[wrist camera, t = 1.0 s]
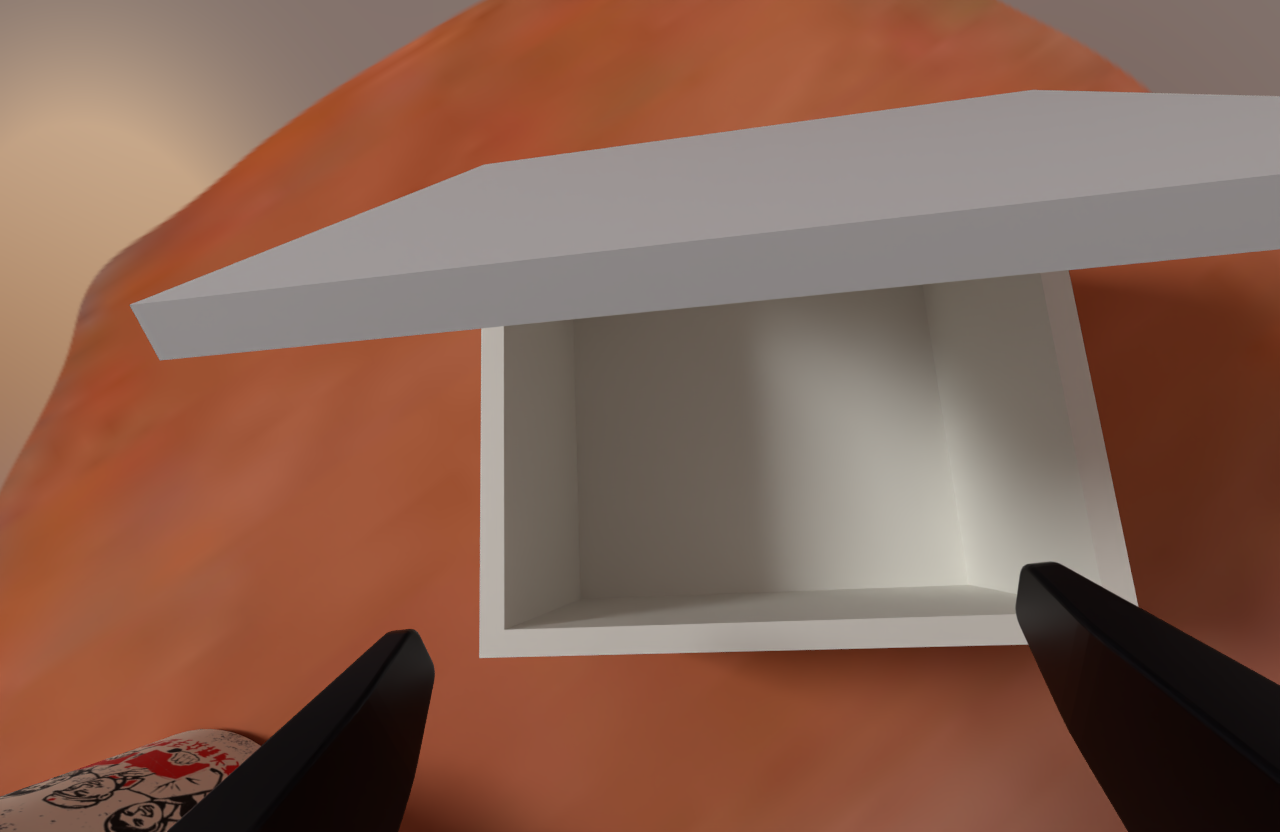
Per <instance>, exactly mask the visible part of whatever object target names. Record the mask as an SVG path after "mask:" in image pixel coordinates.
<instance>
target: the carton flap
mask: <svg viewBox="0 0 1280 832" xmlns="http://www.w3.org/2000/svg"><path fill="white" fill-rule="evenodd" d="M1276 249H1280V96H1247V95H1245V96H1244V95H1208V94H1169V93H1168V94H1167V93H1130V92H1091V91H1052V90H1029V91H1021V92H1014V93H1007V94H999V95H992V96H985V97H977V98H970V99H963V100H955V101H948V102H941V103H933V104H926V105H919V106H911V107H904V108H897V109H889V110H882V111H875V112H867V113H860V114H853V115H845V116H838V117H831V118H823V119H816V120H809V121H801V122H794V123H787V124H779V125H772V126H765V127H757V128H750V129H743V130H735V131H728V132H721V133H713V134H706V135H699V136H691V137H684V138H677V139H669V140H662V141H655V142H647V143H640V144H633V145H625V146H618V147H611V148H603V149H596V150H589V151H581V152H574V153H567V154H559V155H552V156H545V157H537V158H530V159H523V160H515V161H508V162H501V163H493V164H486V165H482V166H480V167H477V168H475V169H472V170H470V171H467V172H465V173H462V174H459V175H457V176H454V177H452V178H449V179H447V180H444V181H442V182H439V183H437V184H434V185H432V186H429V187H427V188H424V189H422V190H419V191H417V192H414V193H411V194H409V195H406V196H404V197H401V198H399V199H396V200H394V201H391V202H389V203H386V204H384V205H381V206H379V207H376V208H374V209H371V210H368V211H366V212H363V213H361V214H358V215H356V216H353V217H351V218H348V219H346V220H343V221H341V222H338V223H336V224H333V225H331V226H328V227H325V228H323V229H320V230H318V231H315V232H313V233H310V234H308V235H305V236H303V237H300V238H298V239H295V240H293V241H290V242H288V243H285V244H283V245H280V246H277V247H275V248H272V249H270V250H267V251H265V252H262V253H260V254H257V255H255V256H252V257H250V258H247V259H245V260H242V261H240V262H237V263H234V264H232V265H229V266H227V267H224V268H222V269H219V270H217V271H214V272H212V273H209V274H207V275H204V276H202V277H199V278H197V279H194V280H192V281H189V282H186V283H184V284H181V285H179V286H176V287H174V288H171V289H169V290H166V291H164V292H161V293H159V294H156V295H154V296H151V297H149V298H146V299H143V300H141V301H138V302H136V303H133V304H131V305H130V307H131V308H132V310H133V312H134V314H135V316H136V318H137V319H138V321H139V323H140V325H141V327H142V329H143V330H144V332H145V334H146V336H147V338H148V340H149V341H150V343H151V345H152V347H153V349H154V351H155V352H156V354H157V356H158V358H159V360H168V359H178V358H188V357H198V356H208V355H219V354H229V353H239V352H249V351H259V350H269V349H279V348H289V347H299V346H309V345H319V344H329V343H339V342H349V341H360V340H370V339H380V338H390V337H400V336H410V335H420V334H430V333H440V332H450V331H460V330H470V329H480V328H490V327H500V326H511V325H521V324H531V323H541V322H551V321H561V320H571V319H581V318H591V317H601V316H611V315H621V314H631V313H641V312H652V311H662V310H672V309H682V308H692V307H702V306H712V305H722V304H732V303H742V302H752V301H762V300H772V299H782V298H792V297H803V296H813V295H823V294H833V293H843V292H853V291H863V290H873V289H883V288H893V287H903V286H913V285H923V284H933V283H943V282H954V281H964V280H974V279H984V278H994V277H1004V276H1014V275H1024V274H1034V273H1044V272H1054V271H1064V270H1074V269H1084V268H1095V267H1105V266H1115V265H1125V264H1135V263H1145V262H1155V261H1165V260H1175V259H1185V258H1195V257H1205V256H1215V255H1225V254H1235V253H1246V252H1256V251H1266V250H1276Z"/></svg>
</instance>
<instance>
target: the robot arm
mask: <svg viewBox="0 0 1280 832" xmlns="http://www.w3.org/2000/svg"><path fill="white" fill-rule="evenodd" d="M1015 610H1016V616H1017V620H1018V623H1019V625H1020V628H1021V630H1022V632H1023V634H1024V636H1025V639H1026V641H1027V643H1028V645H1029V647H1030V649H1031V652H1032V654H1033V656H1034V658H1035V660H1036V662H1037V665H1038V667H1039V669H1040V671H1041V673H1042V675H1043V678H1044V680H1045V682H1046V684H1047V686H1048V688H1049V691H1050V693H1051V695H1052V697H1053V699H1054V701H1055V704H1056V706H1057V708H1058V710H1059V712H1060V714H1061V716H1062V718H1063V720H1064V722H1065V724H1066V726H1067V728H1068V730H1069V732H1070V734H1071V736H1072V738H1073V739H1074V741H1075V743H1076V745H1077V746H1078V748H1079V750H1080V752H1081V753H1082V755H1083V757H1084V758H1085V760H1086V762H1087V763H1088V765H1089V767H1090V769H1091V770H1092V772H1093V774H1094V775H1095V777H1096V779H1097V780H1098V782H1099V784H1100V785H1101V787H1102V789H1103V790H1104V792H1105V794H1106V796H1107V797H1108V799H1109V801H1110V802H1111V804H1112V806H1113V807H1114V809H1115V811H1116V812H1117V814H1118V816H1119V817H1120V819H1121V821H1122V822H1123V824H1124V826H1125V828H1126V829H1127V831H1128V832H1280V685H1278V684H1276V683H1275V682H1273V681H1271V680H1269V679H1267V678H1266V677H1264V676H1262V675H1260V674H1258V673H1257V672H1255V671H1253V670H1251V669H1249V668H1248V667H1246V666H1244V665H1242V664H1240V663H1239V662H1237V661H1235V660H1233V659H1231V658H1230V657H1228V656H1226V655H1224V654H1222V653H1221V652H1219V651H1217V650H1215V649H1213V648H1212V647H1210V646H1208V645H1206V644H1204V643H1203V642H1201V641H1199V640H1197V639H1195V638H1194V637H1192V636H1190V635H1188V634H1186V633H1184V632H1183V631H1181V630H1179V629H1177V628H1175V627H1174V626H1172V625H1170V624H1168V623H1166V622H1165V621H1163V620H1161V619H1159V618H1157V617H1156V616H1154V615H1152V614H1150V613H1148V612H1147V611H1145V610H1143V609H1141V608H1139V607H1138V606H1136V605H1134V604H1132V603H1130V602H1129V601H1127V600H1125V599H1123V598H1121V597H1120V596H1118V595H1116V594H1114V593H1112V592H1111V591H1109V590H1107V589H1105V588H1103V587H1102V586H1100V585H1098V584H1096V583H1094V582H1093V581H1091V580H1089V579H1087V578H1085V577H1084V576H1082V575H1080V574H1078V573H1076V572H1075V571H1073V570H1071V569H1069V568H1067V567H1066V566H1064V565H1062V564H1060V563H1057V562H1052V561H1049V562H1040V563H1030V564H1026V565H1024V566H1023V567H1022V569H1021V571H1020V576H1019V583H1018V591H1017V598H1016V606H1015ZM434 678H435V671H434V665H433V662H432V660H431V658H430V656H429V654H428V652H427V650H426V648H425V645H424V643H423V641H422V639H421V637H420V635H419V634H418V632H417V631H415V630H414V629H405V630H396V631H391V632H388V633H386V634H385V635H384V636H383V637H382V638H380V639H379V640H378V641H377V642H376V643H375V644H374V645H373V646H372V647H370V648H369V649H368V650H367V651H366V652H365V653H364V654H363V655H362V656H360V657H359V658H358V659H357V660H356V661H355V662H354V663H353V664H352V665H350V666H349V667H348V668H347V669H346V670H345V671H344V672H343V673H342V674H341V675H339V676H338V677H337V678H336V679H335V680H334V681H333V682H332V683H331V684H329V685H328V686H327V687H326V688H325V689H324V690H323V691H322V692H321V693H319V694H318V695H317V696H316V697H315V698H314V699H313V700H312V701H311V702H309V703H308V704H307V705H306V706H305V707H304V708H303V709H302V710H301V711H299V712H298V713H297V714H296V715H295V716H294V717H293V718H292V719H291V720H289V721H288V722H287V723H286V724H285V725H284V726H283V727H282V728H281V729H280V730H278V731H277V732H276V733H275V734H274V735H273V736H272V737H271V738H270V739H268V740H267V741H266V742H265V743H264V744H263V745H262V746H261V747H260V748H258V749H257V750H256V751H255V752H254V753H253V754H252V755H251V756H250V757H248V758H247V759H246V760H245V761H244V762H243V763H242V764H241V765H240V766H238V767H237V768H236V769H235V770H234V771H233V772H232V773H231V774H230V775H228V776H227V777H226V778H225V779H224V780H223V781H222V782H221V783H220V784H218V785H217V786H216V787H215V788H214V789H213V790H212V791H211V792H210V793H208V794H207V795H206V796H205V797H204V798H203V799H202V800H201V801H200V802H198V803H197V804H196V805H195V806H194V807H193V808H192V809H191V810H190V811H188V812H187V813H186V814H185V815H184V816H183V817H182V818H181V819H180V820H178V821H177V822H176V823H175V824H174V825H173V826H172V827H171V828H170V829H168V831H167V832H398V831H399V828H400V825H401V822H402V818H403V815H404V812H405V808H406V805H407V802H408V798H409V795H410V792H411V788H412V784H413V781H414V777H415V773H416V768H417V764H418V759H419V754H420V749H421V744H422V739H423V734H424V729H425V724H426V719H427V714H428V709H429V704H430V699H431V694H432V689H433V684H434Z"/></svg>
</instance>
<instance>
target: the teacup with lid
mask: <svg viewBox="0 0 1280 832" xmlns="http://www.w3.org/2000/svg"><path fill="white" fill-rule="evenodd" d="M260 747H261V746H260V745H258V744H257V743H255V742H254V741H252V740H250V739H248V738H246V737H244V736H242V735H239V734H236V733H233V732H228V731H224V730H216V729H200V730H193V731H187V732H183V733H180V734H176V735H173V736H171V737H168V738H165V739H162V740H159V741H156V742H154V743H151V744H148V745H145V746H142V747H139V748H137V749H134V750H131V751H128V752H125V753H122V754H120V755H117V756H114V757H111V758H108V759H105V760H103V761H100V762H97V763H94V764H91V765H88V766H86V767H83V768H80V769H77V770H74V771H71V772H69V773H66V774H63V775H60V776H57V777H54V778H52V779H49V780H46V781H43V782H40V783H38V784H35V785H32V786H29V787H26V788H23V789H21V790H18V791H15V792H12V793H9V794H6V795H4V796H1V797H0V832H167V831H168V829H170V828H171V827H172V826H173V825H174V824H175V823H176V822H177V821H178V820H180V819H181V818H182V817H183V816H184V815H185V814H186V813H187V812H188V811H190V810H191V809H192V808H193V807H194V806H195V805H196V804H197V803H198V802H200V801H201V800H202V799H203V798H204V797H205V796H206V795H207V794H208V793H210V792H211V791H212V790H213V789H214V788H215V787H216V786H217V785H218V784H220V783H221V782H222V781H223V780H224V779H225V778H226V777H227V776H228V775H230V774H231V773H232V772H233V771H234V770H235V769H236V768H237V767H238V766H240V765H241V764H242V763H243V762H244V761H245V760H246V759H247V758H248V757H250V756H251V755H252V754H253V753H254V752H255V751H256V750H257V749H258V748H260Z"/></svg>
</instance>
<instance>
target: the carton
mask: <svg viewBox="0 0 1280 832" xmlns="http://www.w3.org/2000/svg"><path fill="white" fill-rule="evenodd" d="M1049 561H1052V562H1057V563H1060V564H1062V565H1064V566H1066V567H1067V568H1069V569H1071V570H1073V571H1075V572H1076V573H1078V574H1080V575H1082V576H1084V577H1085V578H1087V579H1089V580H1091V581H1093V582H1094V583H1096V584H1098V585H1100V586H1102V587H1103V588H1105V589H1107V590H1109V591H1111V592H1112V593H1114V594H1116V595H1118V596H1120V597H1121V598H1123V599H1125V600H1127V601H1129V602H1130V603H1132V604H1134V605H1136V606H1138V603H1137V598H1136V593H1135V588H1134V583H1133V578H1132V574H1131V569H1130V564H1129V559H1128V554H1127V549H1126V545H1125V540H1124V535H1123V530H1122V525H1121V521H1120V516H1119V511H1118V506H1117V501H1116V496H1115V492H1114V487H1113V482H1112V477H1111V472H1110V467H1109V463H1108V458H1107V453H1106V448H1105V443H1104V439H1103V434H1102V429H1101V424H1100V419H1099V414H1098V410H1097V405H1096V400H1095V395H1094V390H1093V385H1092V381H1091V376H1090V371H1089V366H1088V361H1087V357H1086V352H1085V347H1084V342H1083V337H1082V332H1081V328H1080V323H1079V318H1078V313H1077V308H1076V303H1075V299H1074V294H1073V289H1072V284H1071V279H1070V275H1069V270H1064V271H1054V272H1044V273H1034V274H1024V275H1014V276H1004V277H994V278H984V279H974V280H964V281H954V282H943V283H933V284H923V285H913V286H903V287H893V288H883V289H873V290H863V291H853V292H843V293H833V294H823V295H813V296H803V297H792V298H782V299H772V300H762V301H752V302H742V303H732V304H722V305H712V306H702V307H692V308H682V309H672V310H662V311H652V312H641V313H631V314H621V315H611V316H601V317H591V318H581V319H571V320H561V321H551V322H541V323H531V324H521V325H511V326H500V327H490V328H482V329H481V490H480V652H479V658H495V657H536V656H577V655H618V654H659V653H699V652H740V651H781V650H822V649H863V648H904V647H944V646H985V645H1026V644H1028V643H1027V641H1026V639H1025V636H1024V634H1023V632H1022V630H1021V628H1020V625H1019V623H1018V620H1017V616H1016V610H1015V606H1016V598H1017V591H1018V583H1019V576H1020V571H1021V569H1022V567H1023V566H1024V565H1026V564H1030V563H1040V562H1049Z"/></svg>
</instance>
